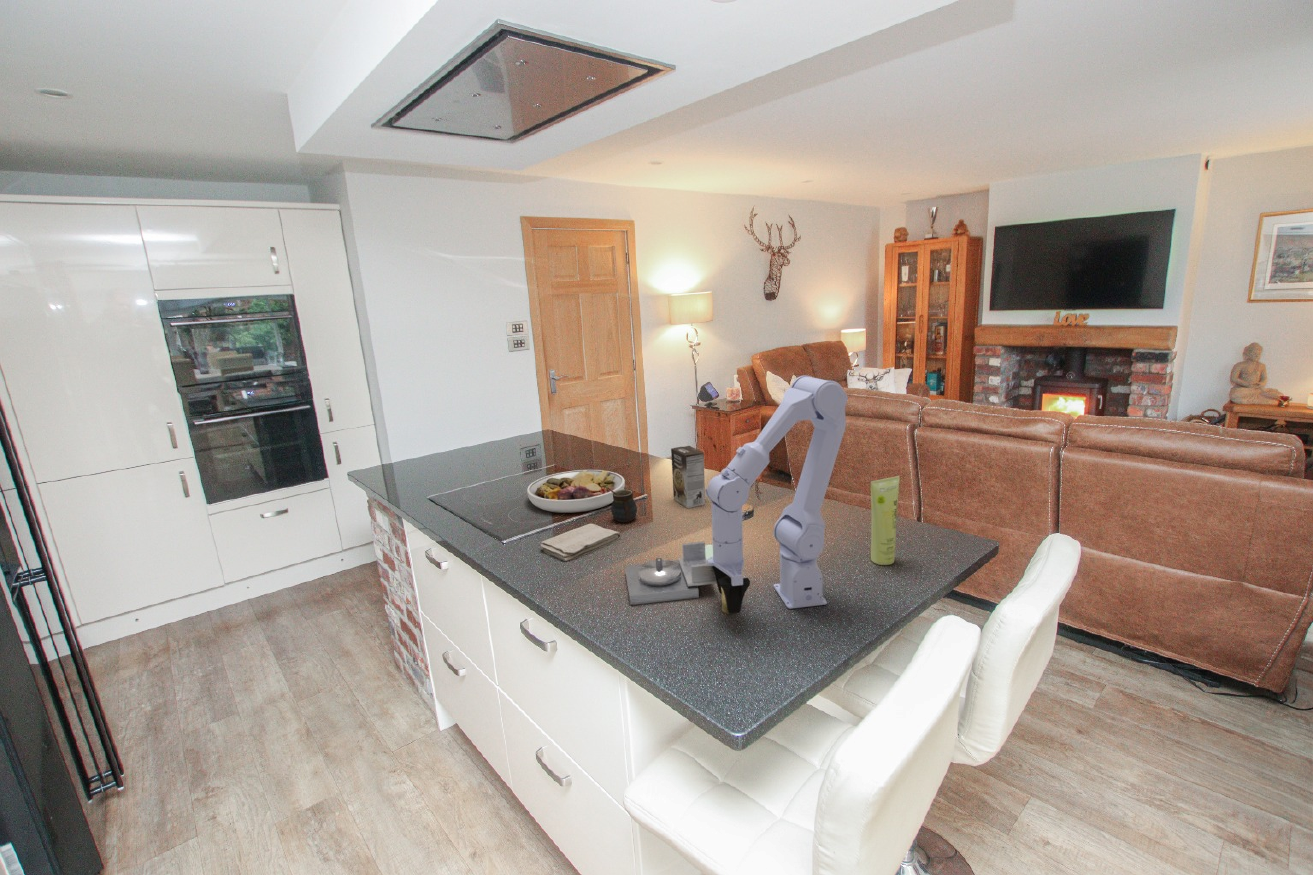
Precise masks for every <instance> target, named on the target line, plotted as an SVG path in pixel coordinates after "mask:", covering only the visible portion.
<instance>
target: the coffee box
mask: <svg viewBox="0 0 1313 875" xmlns="http://www.w3.org/2000/svg"><path fill="white" fill-rule="evenodd" d="M670 451H671V473H672V474H671V475H672V488H673V489H672V491H673V493H672V494H673V500H674V501H675V502H677V503H678V504H680V505H681V506H683V507H685V508H686V509H691V508H695V507H700V506H705V505H706V491H705V490H706V489H705V486H706V484H705V452H704V451H702V450H700V449H697V448H695V447H693V446H690V445H686V446H685V445H684V446H677V447H673V448H670Z"/></svg>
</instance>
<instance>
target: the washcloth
mask: <svg viewBox="0 0 1313 875" xmlns="http://www.w3.org/2000/svg"><path fill="white" fill-rule="evenodd" d="M621 538H622V534H621V532H619V531H615V530H613V529H609V528H604V527H603V526H600V525H597V524H595V523H587V524H585V525H582V526H580V527H576V528H574V529H571V530H568V531H566V532H564V533H560V534H559V535H556V536H552V537H550V538H547V539H545V540H543V541H541V542H540V547H541V548H540V550H541V551H543V552H544V553H545V554H546V555H549V556H552V557H554V558H556V559H559V560H560V561H562V562H567V561H574V560H575V559H578V558H580V557H583V556H585V555H587V554H590V553H592V552H594V551H596V550H599V549H602V548H603V547H605V546H609V545H610V544H612V543H615V542H617V541H619V540H620V539H621Z"/></svg>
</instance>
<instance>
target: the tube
mask: <svg viewBox="0 0 1313 875" xmlns="http://www.w3.org/2000/svg"><path fill="white" fill-rule="evenodd" d="M900 479H901V478H900V475H896V476H892V477H887V478H882V479H881V478H880V479H877V480H872V481H870V504H871V506H870V507H871V509H870V510H871V514H870V515H871V523H870V524H871V528H870V529H871V534H870V535H871V537H870V538H871V540H870V541H871V542H870V560H871V561H872V563H874V564H876V565H879V566H880V565H881V566H889V565H892V564H894V563H895V554H896V536H897V535H896V534H897V517H898V504H899V491H900V490H899V489H900Z"/></svg>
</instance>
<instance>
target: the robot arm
mask: <svg viewBox="0 0 1313 875" xmlns="http://www.w3.org/2000/svg"><path fill="white" fill-rule="evenodd" d="M848 398H849V396H848V395H847V393H846V391H845V390H844V388H843V387H842V385H841V384H840V383H839V382H837V381H834V380H826V379H821V378H817V377H813V376H811V375H799V376H798V377H797V378H795V379H794V380H793V382H792V383H791V385H790V387H788V388H787V389H786V390H785V391H784V394H783V397H782V400H781V402H780V404H779V406H778V407H777V408H776V410H775V411H774V413H773V414H772V415H771V416H770V418H769V420H768V422H767V423H766V424H765V426H764V427H763V429H762V430H761V431H760V432H759V434H758V436H757V437H756V439H755V440H754V441H752V442H751V441H750V442H747V443H744V444H743V445H742V446H739V447H738V448H737V449H736V450H735V453H736V454H735V455H734V457H733V458H732V459H731V460H730V462H729V463H728V465H726V467H725V468H723V469H722V470H721V471H720V474H718V475H715V476H713V477H712V479H710V481H709V482H708V485H707V488H706V489H705V496H706V497H707V498H708V499H709V500H710V502H711V530H712V532H711V535H712V544H713V557H712V558H709V559H707V563H708V565H709V566H712V568H713V570H714V573H715V577H716V581H717V583H716V586H717V589H718V592H719V594H720V595H721V587H722V589H723V591H724V594H725V599H726V605H727V609H728V612H729V613H730V614H729V615H732V614H731V613H733V614H736V613H737V614H738V613H741V610H742V609H741V608H742V605H743V600H744V597H745V593H746V592H747V590H748V589H749V587H750V585H751V580H750V579H749V578H748V577H744V575H743V570H744V566H745V557H744V538H743V537H744V536H743V533H744V532H743V531H744V530H743V506H745V505H746V504H747V502H748V498H749V492H750V490H751V486H752V485H753V484H754V482H755V481H756V480H758V477H759V476H760V475H761V474H762V473H763V471H764V470H765V469H766V468H767V467H768V466H769V463H770V453H771V451H772V450H773V449H774V448H775V447H776V446H777V444H778V443H779V442H780V441H781V440H782V439H783V438H784V437H785V436H786V435H787V433H788V432H789V431H791V429H792V428H793V427H794V426H795V425H796V423H797V422H801V421H807V420H809V421H810V422H811V424H812V426H813V428H814V429H813V433H812V436H811V438H810V439H811V440H810V444H809V447H808V449H807V453H806V455H805V456H806V457H805V461H804V463H803V467H802V470H801V473H800V477H799V480H798V484H797V487H796V490H795V495H794V497H793V499H792V500H793V501H792V503H790V504H788V505H787V506H786V507H784V508H783V510H782V513H781V515H780V516H779V518H778V519H777V520H776V522H775V524H774V526H773V533H772V534H773V537H774V539H775V541H777V542H778V544H779V545H778V547H779V583H774V584H773V588H774V589H775V591H776V593H777V594H778V596H779V597H780V599H781V600H782V602H783V603H784V605H785V606H786V608H787V609H790V610H791V609H799V608H806V607H815V606H823V605H824V606H825V605H827V604H828V601H827V600H826V599H825V597H824V595H823V593H824V592H823V589H824V588H823V586H824V585H823V581H824V580H823V579H824V578H823V573H822V571H821V570H820V568H819V565H818V560H817V559H818V558H819V556H820V555H821V553H822V551H823V549H824V547H825V536H824V534H825V529H826V523H825V521H824V519H823V516H822V513H821V511H822V508H823V507H822V506H823V503H824V501H825V500H824V499H825V496H826V492H827V490H828V487H829V486H828V485H830V484H829V483H830V481H831V480H830V479H831V476H832V473H833V470H834V466H835V463H836V459H837V456H838V454H839V450H840V447H841V444H842V440H843V437H844V434H845V431H846V426H847V420H846V405H847V403H848V400H849V399H848ZM725 576H729V578H724V579H721V578H722V577H725Z"/></svg>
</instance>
